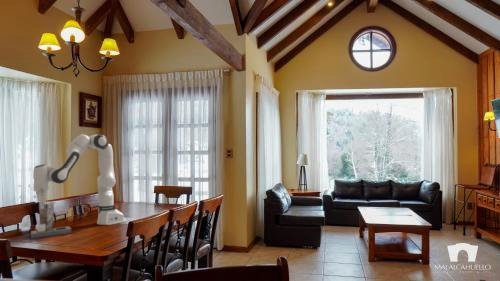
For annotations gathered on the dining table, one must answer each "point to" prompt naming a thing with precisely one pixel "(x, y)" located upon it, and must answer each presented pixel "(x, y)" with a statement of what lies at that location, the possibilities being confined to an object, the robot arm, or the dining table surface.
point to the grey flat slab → (51, 232)
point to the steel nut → (41, 227)
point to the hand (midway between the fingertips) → (41, 208)
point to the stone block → (47, 214)
